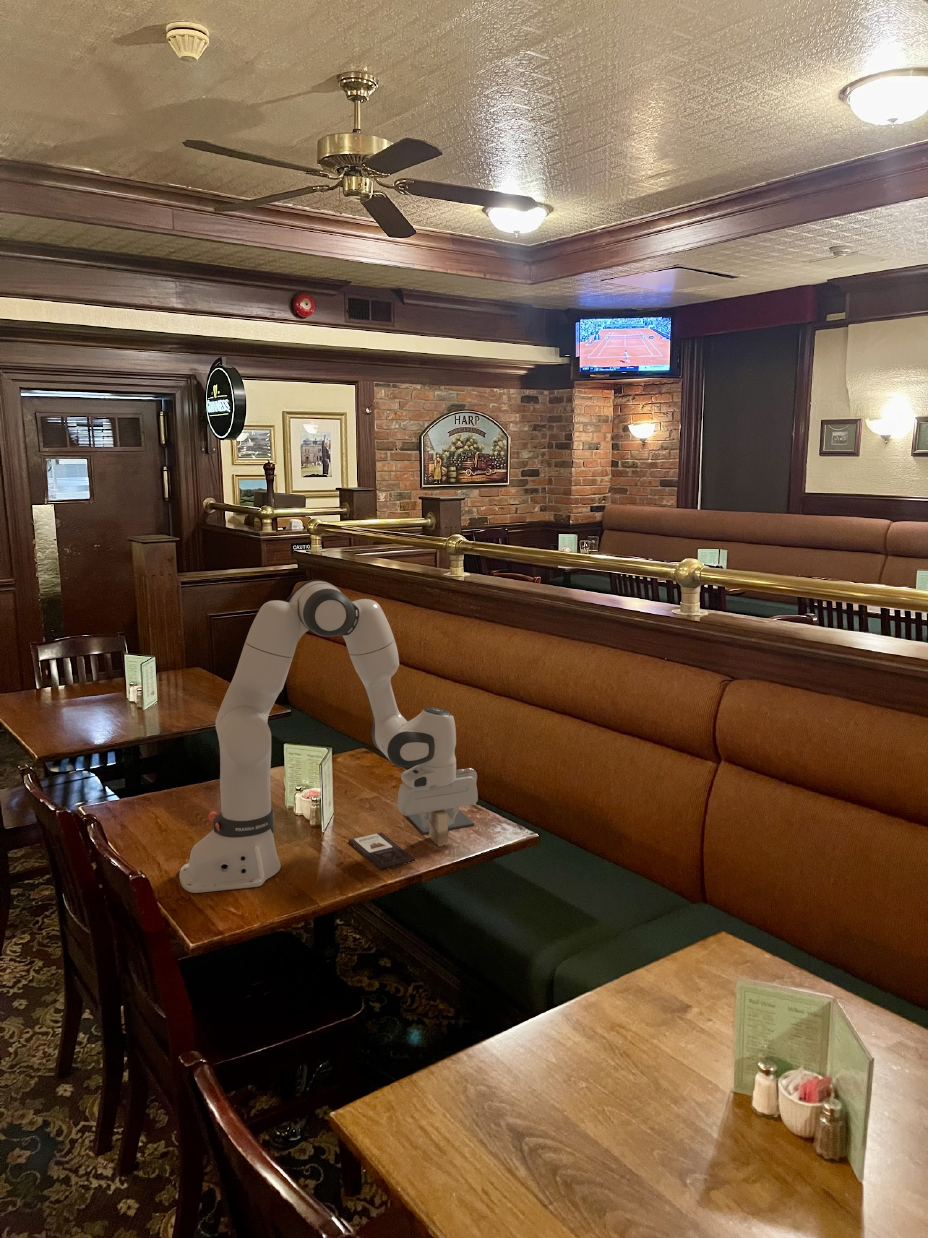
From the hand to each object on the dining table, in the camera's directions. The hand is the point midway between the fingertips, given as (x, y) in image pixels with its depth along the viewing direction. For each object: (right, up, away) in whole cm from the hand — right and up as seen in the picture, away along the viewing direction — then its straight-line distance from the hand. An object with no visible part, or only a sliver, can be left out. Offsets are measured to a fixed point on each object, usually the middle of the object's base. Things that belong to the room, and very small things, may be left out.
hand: (438, 826), depth 226 cm
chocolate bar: (-14, -6, -5) cm, 16 cm away
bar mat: (0, -2, +14) cm, 14 cm away
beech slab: (0, -4, +1) cm, 4 cm away
